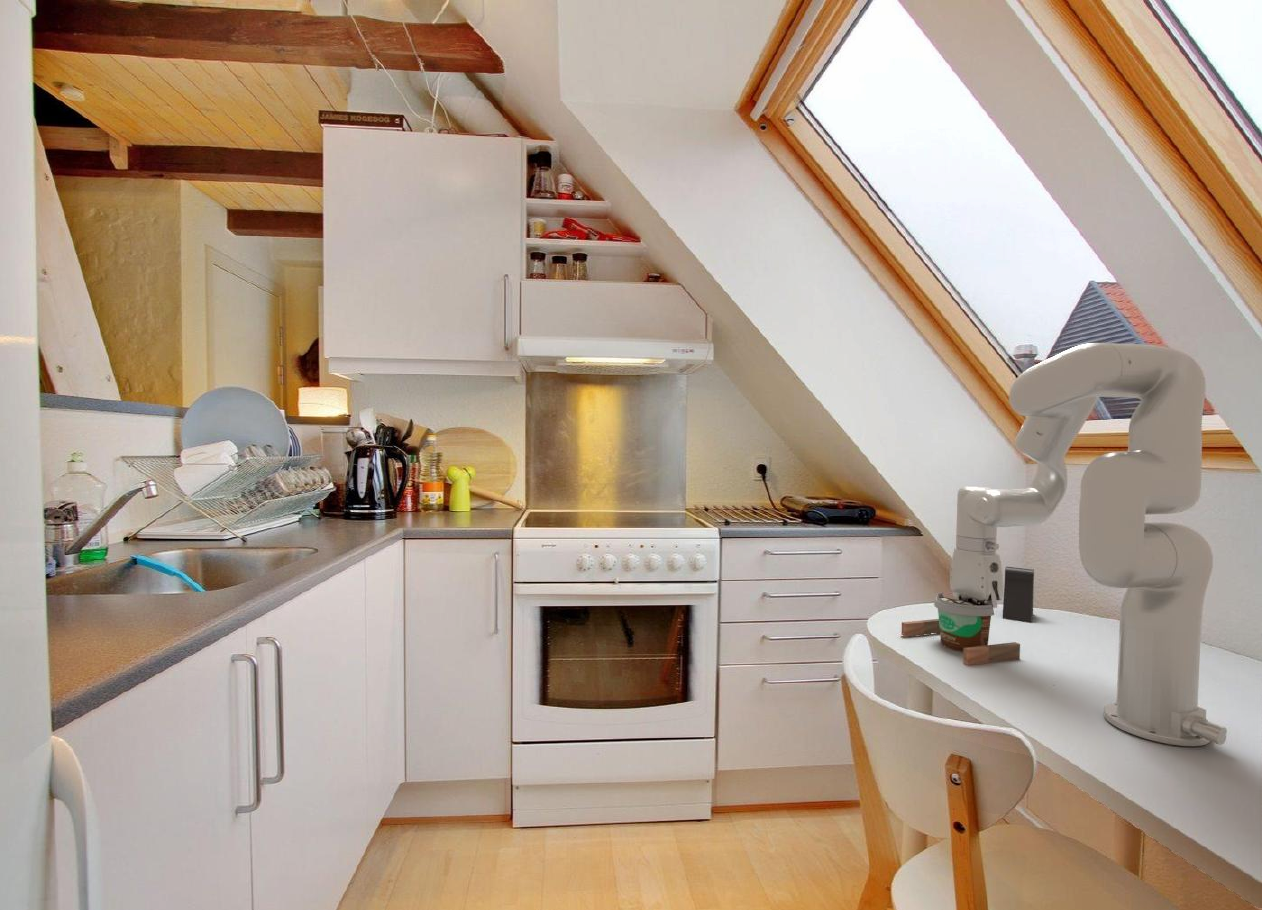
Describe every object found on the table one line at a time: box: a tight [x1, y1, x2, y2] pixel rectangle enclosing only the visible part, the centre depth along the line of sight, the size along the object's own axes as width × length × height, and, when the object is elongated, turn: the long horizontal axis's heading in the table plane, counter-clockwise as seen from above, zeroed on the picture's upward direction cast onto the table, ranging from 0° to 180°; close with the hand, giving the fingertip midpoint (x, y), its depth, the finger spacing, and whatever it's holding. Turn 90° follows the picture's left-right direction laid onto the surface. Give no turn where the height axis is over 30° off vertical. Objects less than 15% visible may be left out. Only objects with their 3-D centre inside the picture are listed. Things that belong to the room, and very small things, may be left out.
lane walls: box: [900, 618, 1021, 666], centre depth 133 cm, size 18×13×3 cm
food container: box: [933, 592, 995, 652], centre depth 132 cm, size 12×6×10 cm, turn 27°
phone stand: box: [1002, 566, 1035, 623], centre depth 156 cm, size 9×6×12 cm, turn 145°
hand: (973, 629), depth 134 cm, fingers closed
